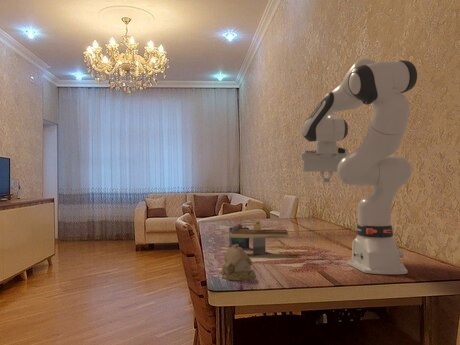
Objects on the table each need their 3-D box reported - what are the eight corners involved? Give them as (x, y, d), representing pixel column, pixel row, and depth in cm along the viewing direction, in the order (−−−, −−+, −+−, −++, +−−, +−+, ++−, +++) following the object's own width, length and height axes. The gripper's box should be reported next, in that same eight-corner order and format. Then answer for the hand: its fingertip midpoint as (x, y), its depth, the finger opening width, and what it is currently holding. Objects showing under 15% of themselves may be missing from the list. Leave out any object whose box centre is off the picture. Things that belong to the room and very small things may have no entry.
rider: (261, 233, 167) (261, 221, 167) (254, 233, 167) (254, 221, 167) (261, 232, 170) (261, 220, 170) (254, 232, 170) (254, 220, 170)
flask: (228, 247, 182) (228, 223, 182) (230, 246, 185) (230, 222, 185) (248, 248, 179) (248, 223, 179) (250, 247, 182) (250, 223, 182)
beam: (288, 254, 164) (288, 227, 164) (229, 253, 166) (229, 226, 166) (287, 251, 170) (287, 225, 170) (231, 250, 172) (231, 224, 172)
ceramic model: (261, 279, 124) (261, 246, 125) (227, 282, 121) (227, 248, 121) (244, 269, 138) (244, 239, 138) (213, 271, 134) (213, 241, 134)
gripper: (302, 150, 173) (302, 182, 173) (351, 149, 172) (351, 182, 171) (301, 151, 180) (301, 182, 179) (348, 150, 178) (348, 182, 178)
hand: (326, 182), depth 175 cm, fingers closed
